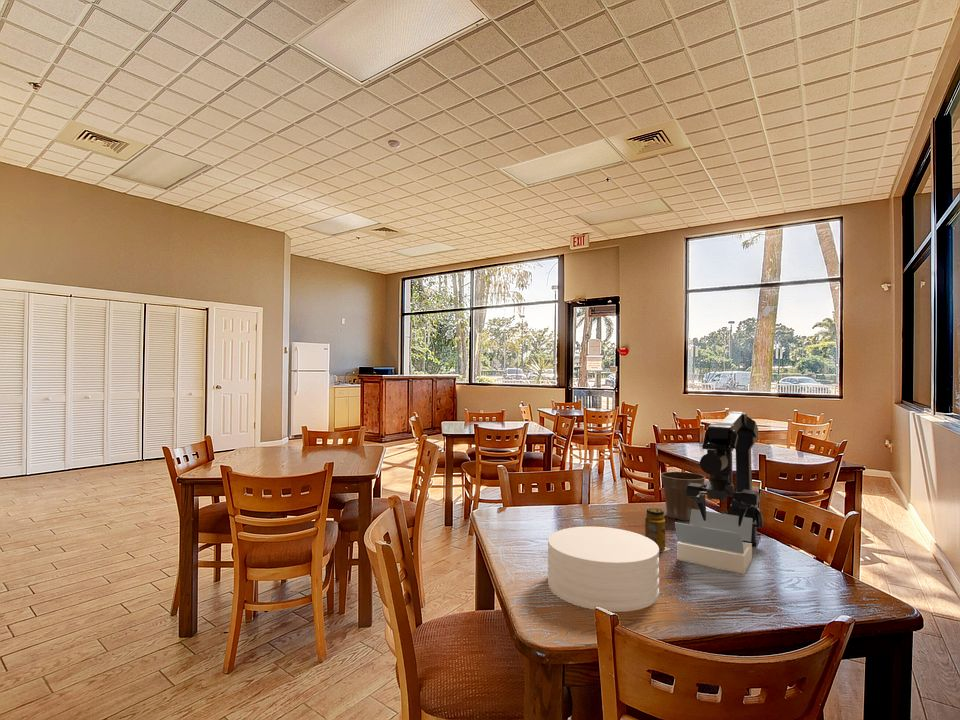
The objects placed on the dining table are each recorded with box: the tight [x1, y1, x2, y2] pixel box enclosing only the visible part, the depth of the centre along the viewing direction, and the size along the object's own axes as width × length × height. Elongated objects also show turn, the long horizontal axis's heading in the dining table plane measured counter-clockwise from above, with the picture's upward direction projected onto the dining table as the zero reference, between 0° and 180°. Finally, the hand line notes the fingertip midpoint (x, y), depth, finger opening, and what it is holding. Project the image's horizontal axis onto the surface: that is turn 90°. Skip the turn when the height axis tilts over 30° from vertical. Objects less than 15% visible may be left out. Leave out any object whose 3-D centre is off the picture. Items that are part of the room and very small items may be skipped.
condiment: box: [644, 507, 672, 553], centre depth 162 cm, size 7×8×12 cm
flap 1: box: [689, 509, 753, 542], centre depth 158 cm, size 7×18×1 cm
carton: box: [676, 541, 753, 575], centre depth 151 cm, size 13×18×5 cm
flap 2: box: [674, 521, 744, 554], centre depth 145 cm, size 7×18×1 cm
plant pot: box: [660, 471, 707, 522], centre depth 198 cm, size 16×16×16 cm
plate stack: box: [547, 526, 660, 613], centre depth 132 cm, size 28×28×12 cm
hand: (721, 523), depth 146 cm, fingers open, 9 cm apart
